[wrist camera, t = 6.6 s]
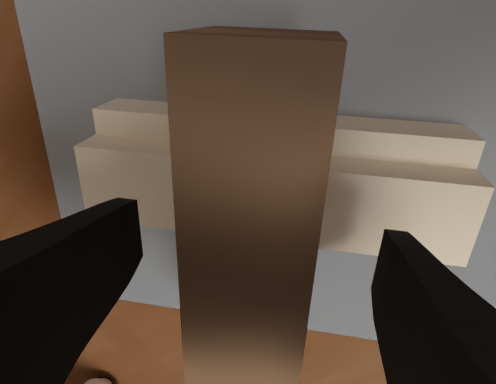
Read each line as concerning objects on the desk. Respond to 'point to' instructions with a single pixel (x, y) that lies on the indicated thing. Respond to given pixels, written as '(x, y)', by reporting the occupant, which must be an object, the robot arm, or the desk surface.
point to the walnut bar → (249, 192)
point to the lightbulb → (98, 381)
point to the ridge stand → (345, 139)
